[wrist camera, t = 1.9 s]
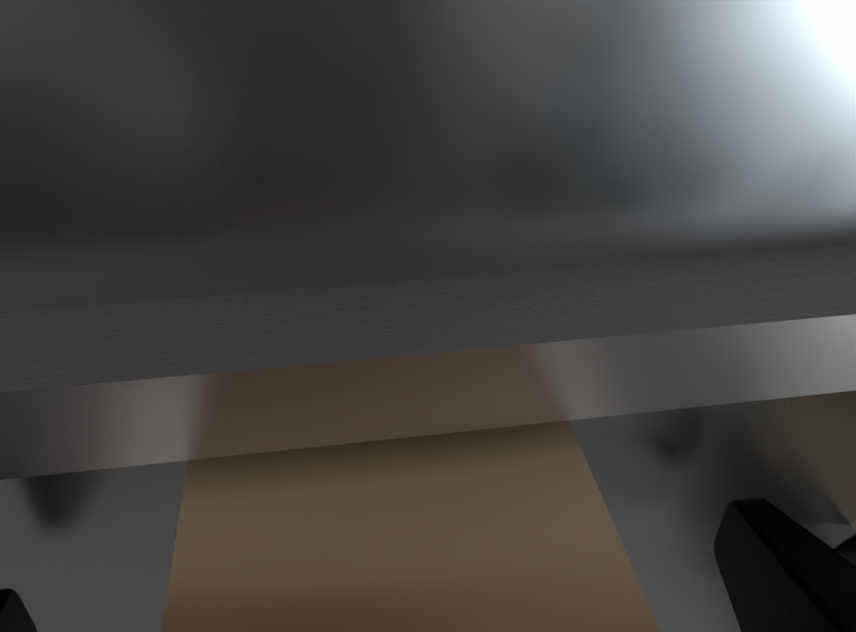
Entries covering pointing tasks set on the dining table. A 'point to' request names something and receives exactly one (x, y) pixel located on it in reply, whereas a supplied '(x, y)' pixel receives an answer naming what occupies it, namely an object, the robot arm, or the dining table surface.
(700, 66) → the drilled plate
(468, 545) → the block
